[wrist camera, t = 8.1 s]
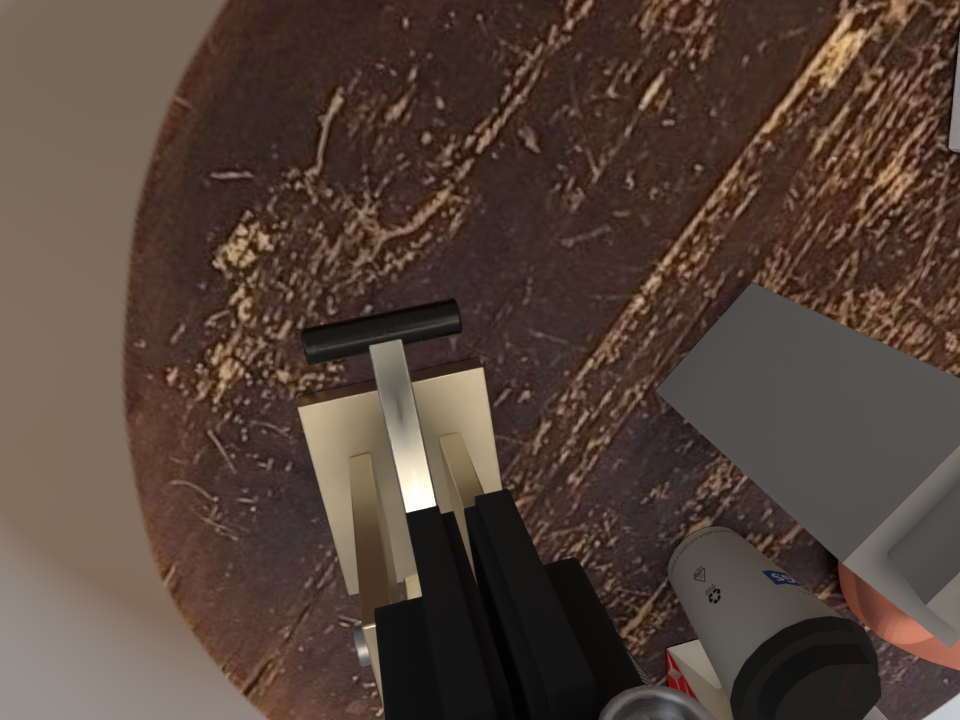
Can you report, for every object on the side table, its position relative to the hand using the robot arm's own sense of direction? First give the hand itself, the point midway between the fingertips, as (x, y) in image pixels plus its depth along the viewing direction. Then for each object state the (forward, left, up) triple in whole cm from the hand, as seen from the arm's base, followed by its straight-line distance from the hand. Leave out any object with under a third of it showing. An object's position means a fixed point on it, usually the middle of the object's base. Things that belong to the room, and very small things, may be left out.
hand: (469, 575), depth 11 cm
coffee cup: (+19, +14, -20) cm, 31 cm away
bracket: (+10, 0, -20) cm, 22 cm away
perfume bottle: (+9, +17, -20) cm, 27 cm away
